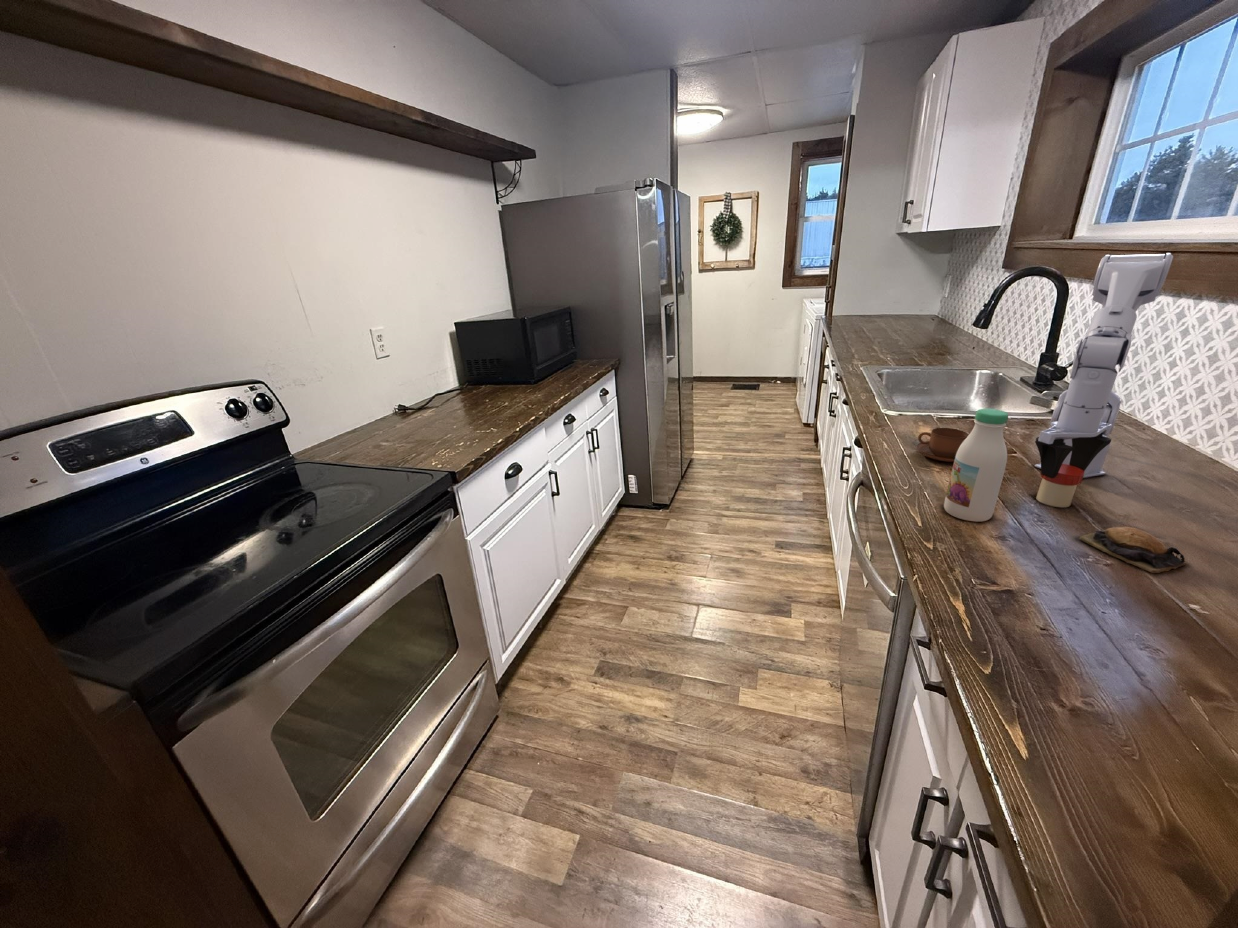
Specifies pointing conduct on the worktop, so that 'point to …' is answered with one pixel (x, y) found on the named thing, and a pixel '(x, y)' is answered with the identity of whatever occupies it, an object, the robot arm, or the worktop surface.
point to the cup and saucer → (942, 443)
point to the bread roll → (1136, 548)
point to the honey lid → (1067, 475)
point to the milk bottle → (978, 468)
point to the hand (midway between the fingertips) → (1062, 473)
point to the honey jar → (1055, 494)
